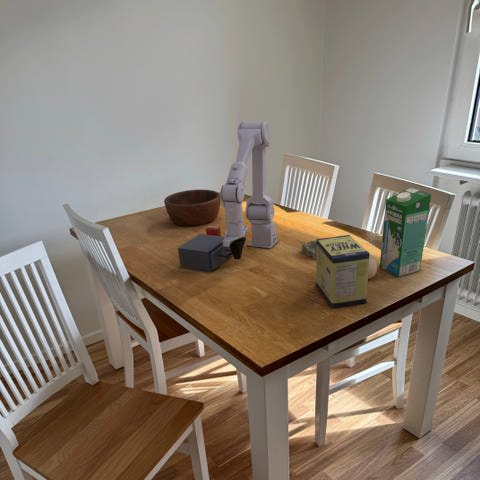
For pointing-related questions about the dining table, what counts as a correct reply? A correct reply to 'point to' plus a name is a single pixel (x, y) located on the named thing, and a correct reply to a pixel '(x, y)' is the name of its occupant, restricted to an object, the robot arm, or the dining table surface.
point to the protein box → (342, 270)
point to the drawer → (219, 255)
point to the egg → (372, 267)
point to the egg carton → (310, 248)
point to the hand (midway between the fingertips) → (237, 258)
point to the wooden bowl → (193, 207)
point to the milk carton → (404, 231)
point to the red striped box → (213, 231)
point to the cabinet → (199, 252)
